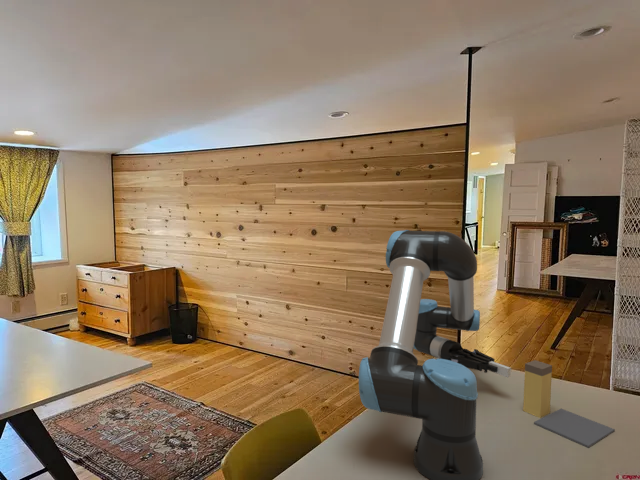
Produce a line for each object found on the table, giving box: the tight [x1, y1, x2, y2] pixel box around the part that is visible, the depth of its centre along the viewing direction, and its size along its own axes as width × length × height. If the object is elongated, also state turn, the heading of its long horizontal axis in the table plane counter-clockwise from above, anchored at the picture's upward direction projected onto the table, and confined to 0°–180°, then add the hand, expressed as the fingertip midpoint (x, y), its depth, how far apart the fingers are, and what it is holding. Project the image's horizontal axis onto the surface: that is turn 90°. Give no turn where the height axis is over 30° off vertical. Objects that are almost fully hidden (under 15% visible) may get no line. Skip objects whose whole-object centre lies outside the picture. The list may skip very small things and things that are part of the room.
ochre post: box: [522, 359, 553, 419], centre depth 122 cm, size 5×5×14 cm
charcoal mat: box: [533, 408, 616, 449], centre depth 115 cm, size 14×14×1 cm
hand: (509, 372), depth 130 cm, fingers closed
